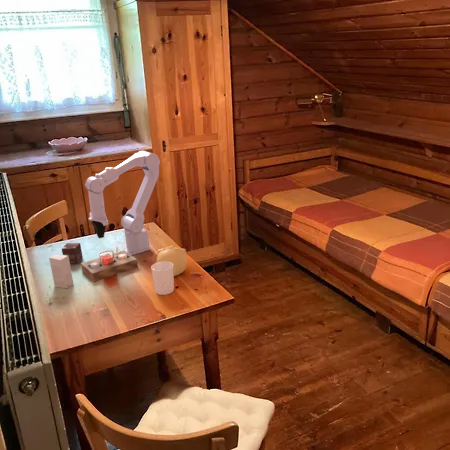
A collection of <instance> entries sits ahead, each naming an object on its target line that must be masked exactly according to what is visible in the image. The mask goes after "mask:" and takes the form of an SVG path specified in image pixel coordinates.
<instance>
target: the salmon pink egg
mask: <svg viewBox="0 0 450 450" xmlns="http://www.w3.org/2000/svg"><path fill="white" fill-rule="evenodd" d="M106 260H107V261H108V264H110V263H113V262H114V261H113V257H112V258H109V259H106Z"/></svg>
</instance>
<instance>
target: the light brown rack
mask: <svg viewBox="0 0 450 450" xmlns="http://www.w3.org/2000/svg"><path fill="white" fill-rule="evenodd" d="M113 254H114V262H113V263H110V264H107V265H106V264H103V263H101V261H100V258H101V257H98V258H94V259H92V260H88V261H85V262H81V263H80V266H81V271H82V272H83V273H84V274H85V275H86V276H87V277H88V278H89V279H90V280H92V281H93V282H96V281H97V282H98V281H100V280H102V279H106V278H110V277H112V276H115V275H117V274H121V273H124V272H127V271H130V270H133V269H136V268H138V267H139V264H138V258H136V257H135V256H134V255H130V254H129V253H127V252H126V251H124V250H121V251H118V252H115V253H113ZM120 254H126V255H127V258H126V259H123V260H119V259H118V255H120ZM94 262H98V263H99V265H100V267H97V268H94V269H91V266H90V264H91V263H94Z"/></svg>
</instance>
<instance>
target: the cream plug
mask: <svg viewBox="0 0 450 450" xmlns="http://www.w3.org/2000/svg"><path fill="white" fill-rule="evenodd" d="M126 258H127V255H126V254H120V255H118V259H119V260H123V259H126Z"/></svg>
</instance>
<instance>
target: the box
mask: <svg viewBox="0 0 450 450" xmlns="http://www.w3.org/2000/svg"><path fill="white" fill-rule="evenodd" d="M61 253H62V255H67V256H69V262H70V265H79V263H80V262H81V261H82V260H83V251H82V246H81V243H80V242H68V243H65V245H64V246H63V247H62V248H61Z"/></svg>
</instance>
